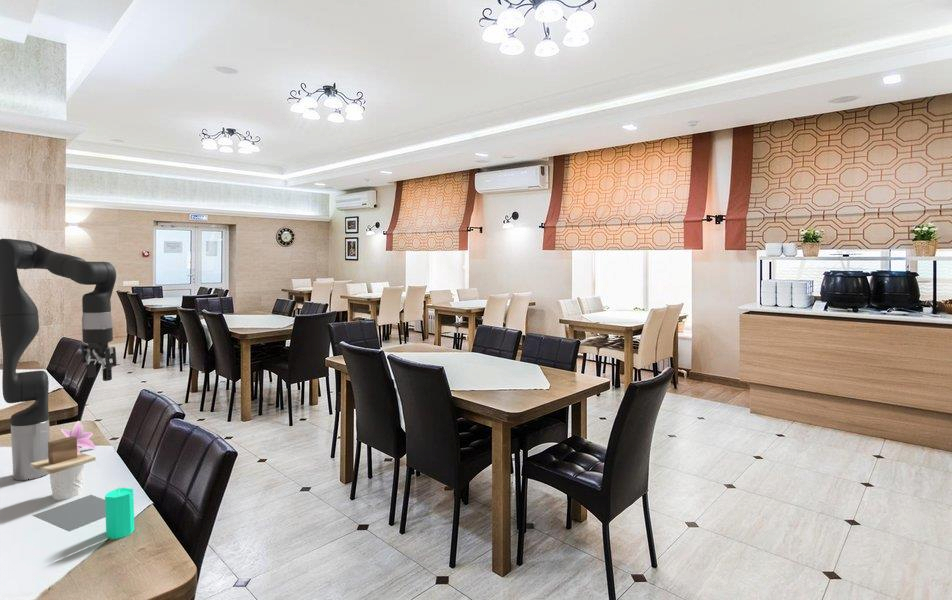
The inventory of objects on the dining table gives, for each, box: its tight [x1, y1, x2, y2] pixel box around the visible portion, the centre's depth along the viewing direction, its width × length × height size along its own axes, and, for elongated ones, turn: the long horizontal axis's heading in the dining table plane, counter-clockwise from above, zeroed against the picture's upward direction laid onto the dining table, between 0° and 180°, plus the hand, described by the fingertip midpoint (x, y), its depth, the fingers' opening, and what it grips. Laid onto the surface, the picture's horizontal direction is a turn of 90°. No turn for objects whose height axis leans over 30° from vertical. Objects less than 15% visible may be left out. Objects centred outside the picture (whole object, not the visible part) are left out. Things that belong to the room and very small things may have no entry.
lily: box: [60, 420, 97, 453], centre depth 186 cm, size 12×12×10 cm
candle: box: [104, 487, 135, 540], centre depth 130 cm, size 6×6×12 cm
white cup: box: [49, 464, 85, 501], centre depth 150 cm, size 8×8×10 cm
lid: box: [30, 436, 97, 474], centre depth 148 cm, size 11×11×7 cm
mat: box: [32, 494, 106, 532], centre depth 140 cm, size 18×14×1 cm
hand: (99, 378), depth 159 cm, fingers open, 8 cm apart
